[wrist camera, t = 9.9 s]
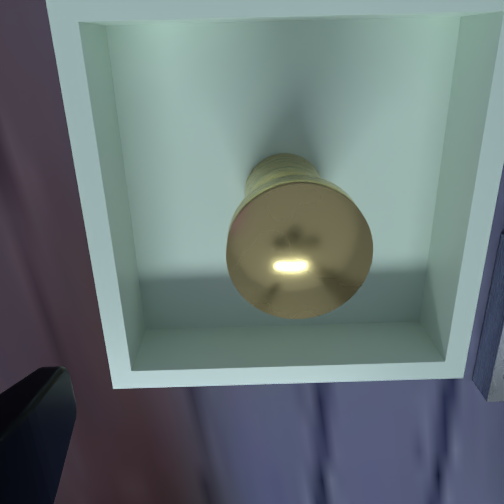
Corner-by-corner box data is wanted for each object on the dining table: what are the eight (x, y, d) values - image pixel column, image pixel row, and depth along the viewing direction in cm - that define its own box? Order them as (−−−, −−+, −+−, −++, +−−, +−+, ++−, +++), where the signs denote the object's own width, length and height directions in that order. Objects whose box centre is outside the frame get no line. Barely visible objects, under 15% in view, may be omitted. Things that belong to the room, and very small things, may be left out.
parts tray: (430, 329, 22) (462, 378, 19) (132, 337, 22) (113, 388, 18) (480, -9, 16) (538, -23, 13) (83, 1, 16) (44, -11, 13)
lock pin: (333, 238, 19) (368, 317, 14) (234, 241, 19) (229, 321, 14) (337, 138, 18) (379, 182, 12) (229, 141, 18) (222, 186, 12)
